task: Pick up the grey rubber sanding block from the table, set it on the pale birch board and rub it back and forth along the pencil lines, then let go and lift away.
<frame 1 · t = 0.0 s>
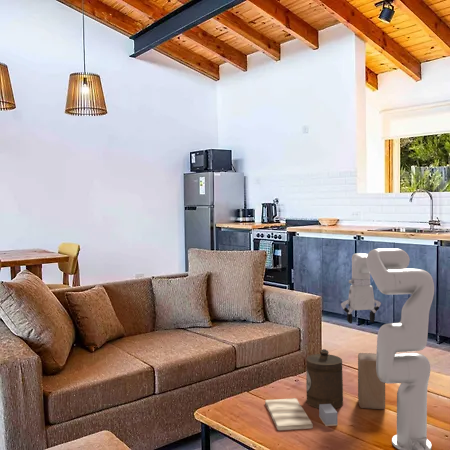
hand: (360, 322, 212), 31 cm above the table, fingers open, 9 cm apart
wooden container: (324, 402, 206), on the table
sanding block: (328, 421, 188), on the table
wooden block: (371, 405, 203), on the table
board: (287, 415, 194), on the table
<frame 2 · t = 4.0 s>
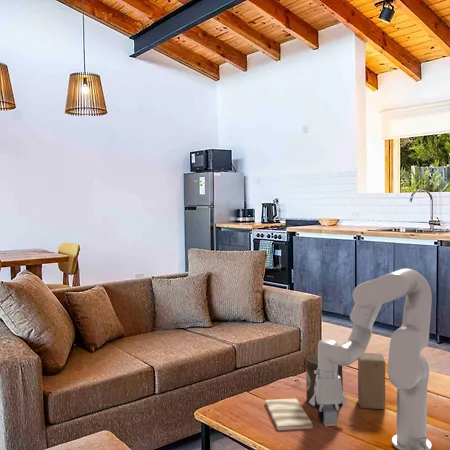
hand: (328, 419, 188), 0 cm above the table, fingers closed on sanding block, 4 cm apart
sanding block: (328, 420, 189), on the table, touching gripper
everything else where it was.
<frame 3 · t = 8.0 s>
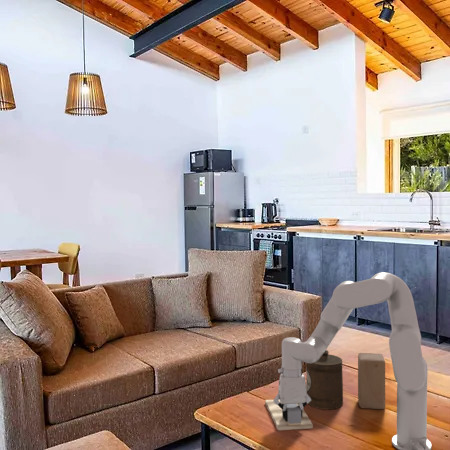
hand: (292, 419, 186), 2 cm above the table, fingers closed on sanding block, 4 cm apart
sanding block: (292, 420, 186), point 2 cm above the table, touching gripper
everything else where it was.
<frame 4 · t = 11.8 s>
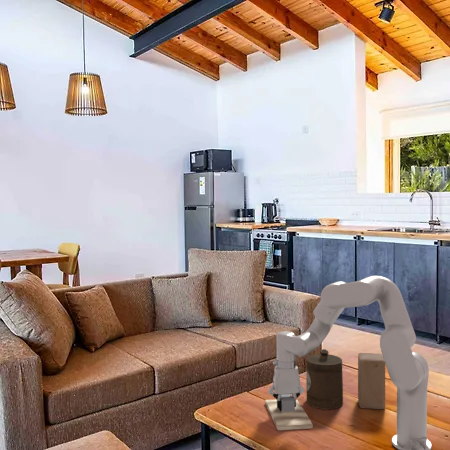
hand: (286, 408, 196), 2 cm above the table, fingers closed on sanding block, 4 cm apart
sanding block: (286, 409, 196), point 2 cm above the table, touching gripper
everything else where it was.
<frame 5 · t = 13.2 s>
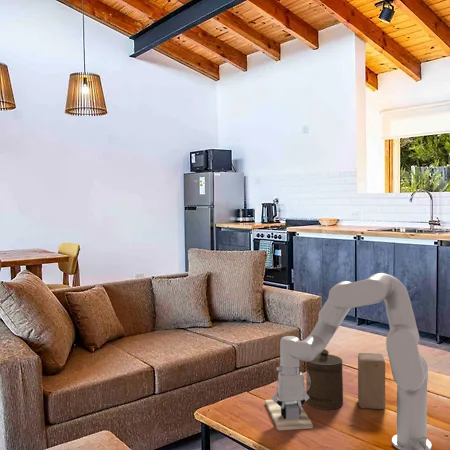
hand: (290, 416, 189), 2 cm above the table, fingers closed on sanding block, 4 cm apart
sanding block: (290, 417, 189), point 2 cm above the table, touching gripper
everything else where it was.
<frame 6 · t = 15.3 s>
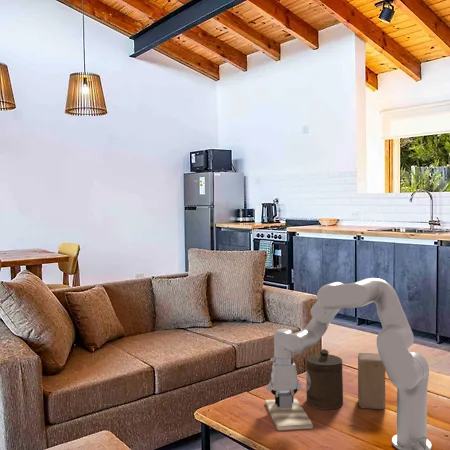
hand: (284, 404, 200), 2 cm above the table, fingers closed on sanding block, 4 cm apart
sanding block: (284, 405, 199), point 2 cm above the table, touching gripper
everything else where it was.
when the fingers open (2 cm above the table, at t = 15.5 s): sanding block stays where it is, resting on board.
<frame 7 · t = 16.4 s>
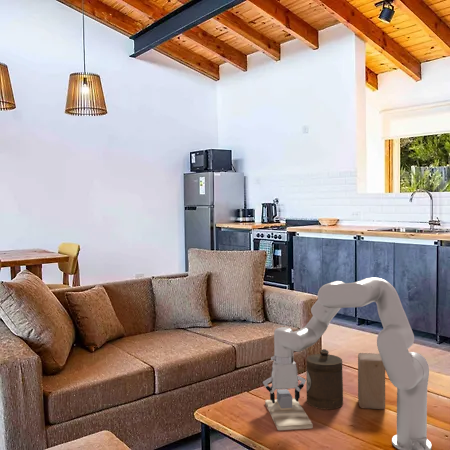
hand: (284, 401, 199), 3 cm above the table, fingers open, 9 cm apart
sanding block: (284, 405, 199), point 1 cm above the table, touching board
everything else where it was.
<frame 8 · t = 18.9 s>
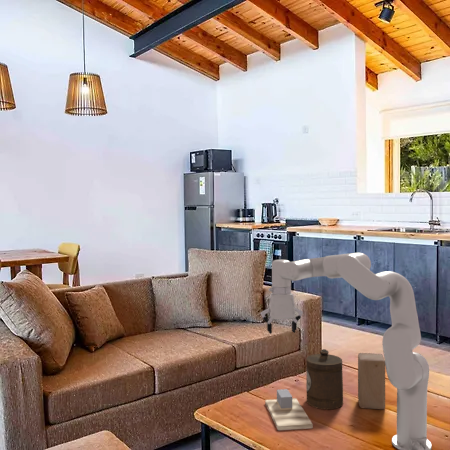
hand: (281, 332, 201), 30 cm above the table, fingers open, 9 cm apart
nothing on the table moved.
at the end: sanding block inside the target area on the board (5.7 cm from its centre), point 1.5 cm above the board's base; sanding block moved 18.9 cm from its start; the gripper is holding nothing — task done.
